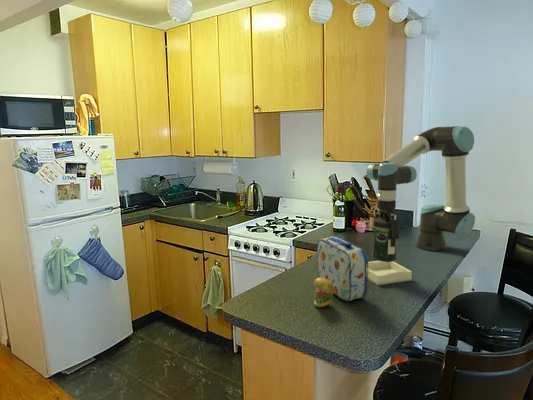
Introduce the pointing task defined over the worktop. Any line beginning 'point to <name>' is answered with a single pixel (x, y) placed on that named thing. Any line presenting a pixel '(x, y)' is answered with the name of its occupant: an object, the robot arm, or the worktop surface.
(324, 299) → the hamburger
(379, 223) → the coffee jar
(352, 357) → the worktop surface
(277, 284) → the worktop surface
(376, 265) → the caddy
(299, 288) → the worktop surface
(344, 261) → the lunch box
